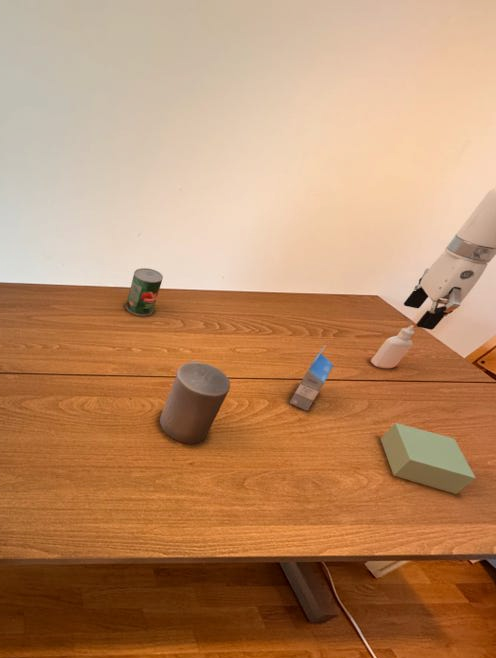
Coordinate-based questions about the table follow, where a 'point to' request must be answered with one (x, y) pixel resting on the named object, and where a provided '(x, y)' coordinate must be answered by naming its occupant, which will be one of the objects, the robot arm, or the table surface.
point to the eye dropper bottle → (393, 349)
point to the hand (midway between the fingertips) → (417, 316)
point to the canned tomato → (144, 291)
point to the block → (426, 458)
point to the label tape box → (312, 382)
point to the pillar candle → (194, 402)
